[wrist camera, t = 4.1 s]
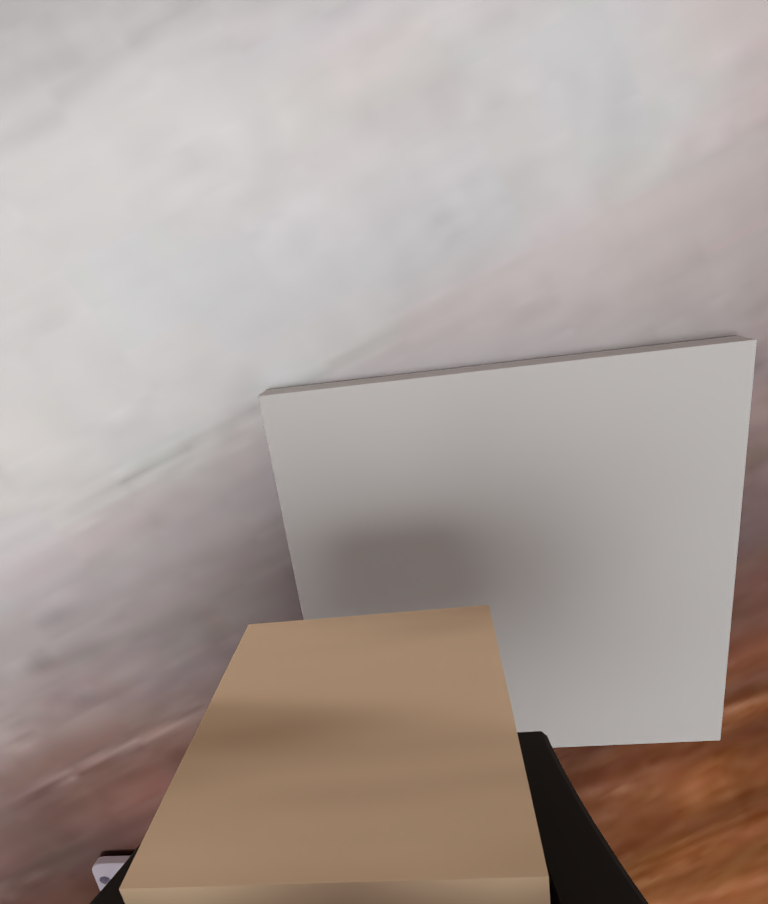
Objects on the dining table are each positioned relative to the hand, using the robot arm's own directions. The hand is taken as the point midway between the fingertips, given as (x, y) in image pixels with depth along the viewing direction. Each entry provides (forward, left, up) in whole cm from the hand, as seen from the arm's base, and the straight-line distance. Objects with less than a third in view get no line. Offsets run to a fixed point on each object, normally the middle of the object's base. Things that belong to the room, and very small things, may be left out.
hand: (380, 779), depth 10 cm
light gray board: (-1, -4, -8) cm, 9 cm away
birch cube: (0, 0, -2) cm, 2 cm away
